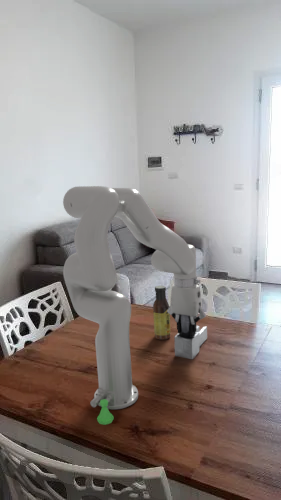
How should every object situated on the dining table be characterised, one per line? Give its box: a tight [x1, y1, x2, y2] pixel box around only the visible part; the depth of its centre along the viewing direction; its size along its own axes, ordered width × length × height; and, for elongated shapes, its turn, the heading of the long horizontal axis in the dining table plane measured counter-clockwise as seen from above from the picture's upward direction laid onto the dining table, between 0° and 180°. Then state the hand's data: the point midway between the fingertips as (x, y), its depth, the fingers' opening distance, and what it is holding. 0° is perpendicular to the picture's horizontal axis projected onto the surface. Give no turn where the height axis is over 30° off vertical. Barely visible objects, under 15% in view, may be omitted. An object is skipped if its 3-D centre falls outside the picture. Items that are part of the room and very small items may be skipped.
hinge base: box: [174, 324, 201, 360], centre depth 145 cm, size 18×9×7 cm, turn 151°
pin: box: [180, 314, 193, 339], centre depth 138 cm, size 4×4×10 cm
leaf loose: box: [198, 325, 208, 348], centre depth 147 cm, size 8×1×4 cm, turn 151°
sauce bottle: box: [152, 285, 171, 340], centre depth 152 cm, size 6×6×20 cm
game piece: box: [96, 399, 115, 426], centre depth 105 cm, size 4×4×6 cm
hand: (186, 332), depth 138 cm, fingers closed on pin, 3 cm apart
